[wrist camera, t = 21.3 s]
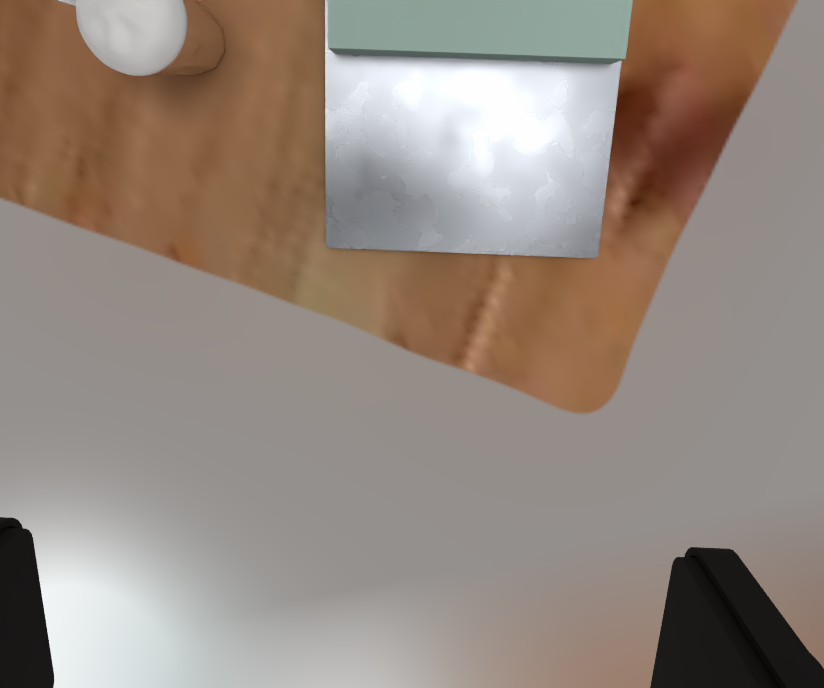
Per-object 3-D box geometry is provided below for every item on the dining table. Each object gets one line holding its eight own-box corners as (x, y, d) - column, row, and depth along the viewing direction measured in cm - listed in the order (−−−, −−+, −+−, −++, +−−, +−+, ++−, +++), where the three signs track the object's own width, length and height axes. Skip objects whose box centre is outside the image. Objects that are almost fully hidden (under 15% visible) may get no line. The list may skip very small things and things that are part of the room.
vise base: (329, 243, 39) (318, 255, 35) (329, -194, 32) (315, -237, 28) (591, 253, 38) (609, 267, 35) (642, -183, 32) (671, -226, 28)
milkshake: (144, -23, 35) (36, -81, 25) (245, 8, 35) (177, -38, 25) (130, 69, 36) (24, 46, 26) (228, 97, 36) (158, 85, 27)
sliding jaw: (334, 53, 34) (327, 47, 32) (335, -49, 33) (327, -63, 30) (611, 63, 34) (625, 59, 32) (623, -39, 33) (639, -52, 30)
